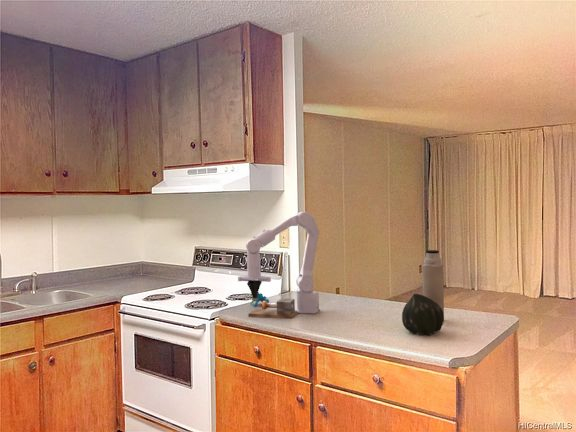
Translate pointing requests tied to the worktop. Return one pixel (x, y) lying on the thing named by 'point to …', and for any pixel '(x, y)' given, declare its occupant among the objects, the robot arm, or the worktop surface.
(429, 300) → the squash
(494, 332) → the worktop surface
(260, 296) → the gear
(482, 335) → the worktop surface
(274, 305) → the shaft
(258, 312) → the bearing stand
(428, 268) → the thermos bottle
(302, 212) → the robot arm
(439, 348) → the worktop surface
